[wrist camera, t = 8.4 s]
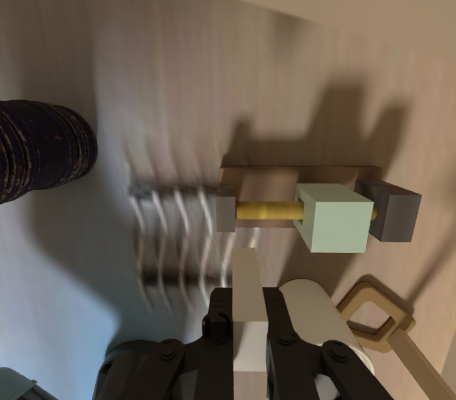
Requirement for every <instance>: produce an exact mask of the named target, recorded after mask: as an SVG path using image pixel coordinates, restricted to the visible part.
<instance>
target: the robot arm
mask: <svg viewBox="0 0 456 400" xmlns="http://www.w3.org/2000/svg"><path fill="white" fill-rule="evenodd" d="M202 334H203V336H201V337H200V338H199V339H198V340H196V341H194V342H192V343H188V344H185V345H183V344H182V342H181V341H179V340H177V339H166V340H163V341H161V342H160V343H158V344H157V343H154V342H149V341H130V342H126V343H123V344H121V345H118V346H117V347H115V348H114V349H112V350H111V351H110V352H109V354H108V355H107V357H106V359H105V360H104V362H103V364H102V366H101V367H100V370H99V372H98V376H97V380H96V384H95V389H94V393H93V397H92V400H234V377H233V371H266V367H267V375H268V376H267V396H266V398H269V400H394V399H393V398H392V397H391V396H390V394H389V393H388V392H387V391H386V390H385V388H384V387H383V386H382V385H381V383H380V382H379V381H378V380H377V379H376V377H375V376H374V375H373V374H372V372H371V371H370V370H369V369H368V368H367V366H366V365H365V364H364V363H363V362H362V360H361V359H360V358H359V357H358V355H357V354H356V353H355V352H354V351H353V350H352V349H351V348H350V347H349V346H348V345H346V344H345V343H343V342H341V341H337V340H328V341H325V342H324V343H323V344H322V346H318V345H314V344H311V343H309V342H306V341H304V340H303V339H301V338H300V337H299V335H298V333H297V332H295V331H294V328H293V325H292V322H291V318H290V315H289V312H288V309H287V305H286V302H285V299H284V296H283V293H282V292H281V291H280V290H279V289H278V288H277V287H262V285H261V279H260V274H259V268H258V263H257V257H256V252H255V248H233V288H215V289H214V290H213V291H212V293H211V296H210V303H209V310H208V314H207V315H206V316H205V317H204V318H203V320H202ZM36 383H37V381H36V380H30V379H28V378H26V377H25V376H23V375H21V374H19V373H18V372H16V371H14V370H13V369H10V368H7V367H0V400H58V399H57V398H55V397H54V396H52V395H51V394H49V393H48V392H46V391H45V390H43V389H42V388H41V387H39V386H38V385H36Z"/></svg>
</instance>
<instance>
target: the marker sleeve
mask: <svg viewBox="0 0 456 400" xmlns="http://www.w3.org/2000/svg"><path fill="white" fill-rule="evenodd" d="M295 202H304V212H303V220H293V223H294V225H295V226H296V228H297V229H298V231H299V233H300V234H301V237H302V238H303V240H304V242H305V243H306V245H307V247H308V248H309V250H310V252H323V253H365V249H366V244H367V238H368V232H369V227H370V221H371V215H372V210H373V204H374V202H373V201H371V200H369V199H367V198H365V197H363V196H361V195H360V194H358V193H356V192H353V191H351V190H349V189H348V188H346V187H344V186H343V185H341V184H325V183H296V194H295Z"/></svg>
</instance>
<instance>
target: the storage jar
mask: <svg viewBox="0 0 456 400" xmlns="http://www.w3.org/2000/svg"><path fill="white" fill-rule="evenodd" d="M96 158H97V142H96V138H95V135H94V133H93V131H92V129H91V127H90V126H89V124H88V123H87V122H86V121H85V119H83V118H82V117H81V116H80V115H79V114H78V113H76V112H75V111H73V110H71V109H69V108H66V107H63V106H58V105H50V104H48V103H43V102H36V101H28V100H9V101H0V204H3V203H5V202H10V201H13V200H15V199H17V198H19V197H21V196H23V195H25V194H26V193H27V192H29V191H32V190H43V189H51V188H54V187H57V186H59V185H62V184H65V183H68V182H70V181H72V180H75V179H78V178H81V177H83V176H85V175H86V174H87V173H89V171H90V170H91V169H92V168H93V166H94V164H95V162H96Z"/></svg>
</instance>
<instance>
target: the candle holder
mask: <svg viewBox="0 0 456 400" xmlns="http://www.w3.org/2000/svg"><path fill="white" fill-rule="evenodd" d="M279 290H280V291H281V292H282V293H283V296H284V299H285V302H286V305H287V309H288V312H289V315H290V318H291V322H292V325H293V328H294V331H295V332H297V333H298V335H299V337H300V338H301V339H303V340H304V341H306V342H309V343H311V344H314V345H318V346H322V344H323V343H324V342H325V341H328V340H337V341H341V342H343V343H345V344H346V345H348V346H349V347H350V348H351V349H352V350H353V351H354V352H355V353H356V354H357V355H358V357H359V358H360V359H361V360H362V362H363V363H364V364H365V365H366V366H367V368H368V369H369V370H370V371H371V372H372V374H373V375H374V376H375V371H374V366H373V363H372V361H371V359H370V358H369V356H368V355H367V354H366V353H365V351H364V350H363V348H362V347H361V345H360V344H359V342H358V340H357V339H356V337H355V336H354V334H353V333H352V331H351V330H350V328H349V327H348V325H347V323H346V322H345V320H344V319H343V317H342V316H341V314H340V313H339V311H338V310H337V308H336V306H335V305H334V303H333V302H332V300H331V299H330V297H329V296H328V294H327V293H326V291H325V290H324V289H323V288H322V287H321V286H320V285H319V284H318V283H316V282H314V281H312V280H308V279H295V280H291V281H289V282H287V283H285V284H283V285H282V286H281V287H280V288H279Z"/></svg>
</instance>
